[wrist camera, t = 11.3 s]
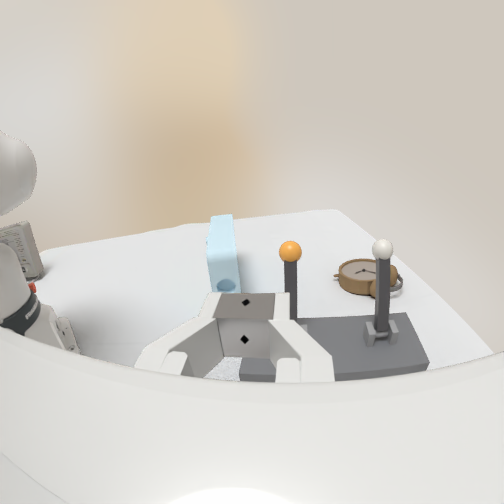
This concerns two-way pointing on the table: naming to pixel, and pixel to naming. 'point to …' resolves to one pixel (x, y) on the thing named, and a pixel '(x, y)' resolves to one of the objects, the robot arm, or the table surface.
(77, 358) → the robot arm
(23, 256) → the network device
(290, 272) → the orange lever
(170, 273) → the table surface
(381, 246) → the grey lever
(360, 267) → the alarm clock
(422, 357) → the switch box
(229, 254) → the light blue rounded box
